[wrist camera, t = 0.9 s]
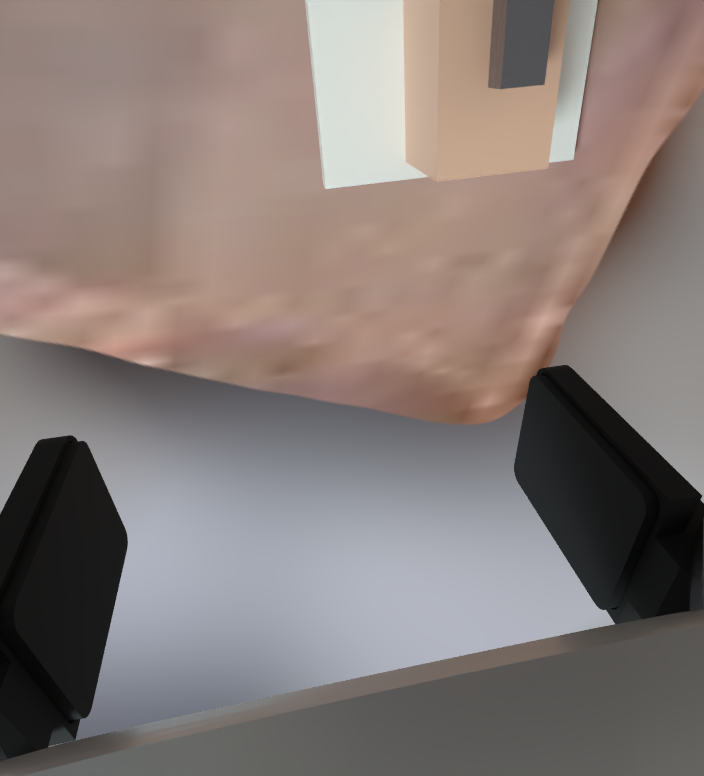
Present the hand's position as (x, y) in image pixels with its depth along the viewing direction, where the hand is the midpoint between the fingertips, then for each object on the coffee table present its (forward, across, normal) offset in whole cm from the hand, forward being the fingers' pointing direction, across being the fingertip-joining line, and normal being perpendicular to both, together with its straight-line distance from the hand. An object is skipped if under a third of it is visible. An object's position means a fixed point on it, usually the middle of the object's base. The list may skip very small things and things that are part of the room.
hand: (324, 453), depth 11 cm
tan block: (+24, -11, -5) cm, 27 cm away
